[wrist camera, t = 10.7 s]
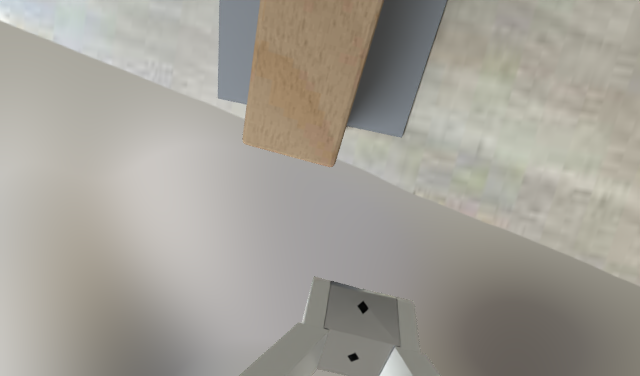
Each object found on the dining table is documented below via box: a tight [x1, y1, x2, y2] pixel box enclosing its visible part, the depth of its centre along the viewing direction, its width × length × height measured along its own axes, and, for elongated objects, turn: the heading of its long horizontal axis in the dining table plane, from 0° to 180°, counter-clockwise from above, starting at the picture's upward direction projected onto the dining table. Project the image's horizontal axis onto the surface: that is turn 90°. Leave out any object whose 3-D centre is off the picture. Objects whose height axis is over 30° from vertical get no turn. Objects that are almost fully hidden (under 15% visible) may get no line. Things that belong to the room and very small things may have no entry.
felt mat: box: [218, 0, 447, 137], centre depth 39 cm, size 24×18×1 cm
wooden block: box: [243, 0, 384, 167], centre depth 34 cm, size 10×10×20 cm
